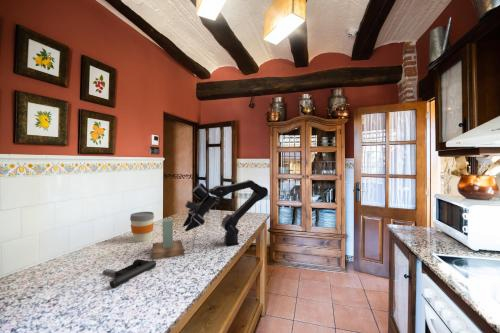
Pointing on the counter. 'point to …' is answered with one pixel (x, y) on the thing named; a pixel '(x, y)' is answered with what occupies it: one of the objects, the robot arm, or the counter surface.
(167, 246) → the green post
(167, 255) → the walnut base
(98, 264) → the counter surface
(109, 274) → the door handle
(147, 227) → the reusable coffee cup
